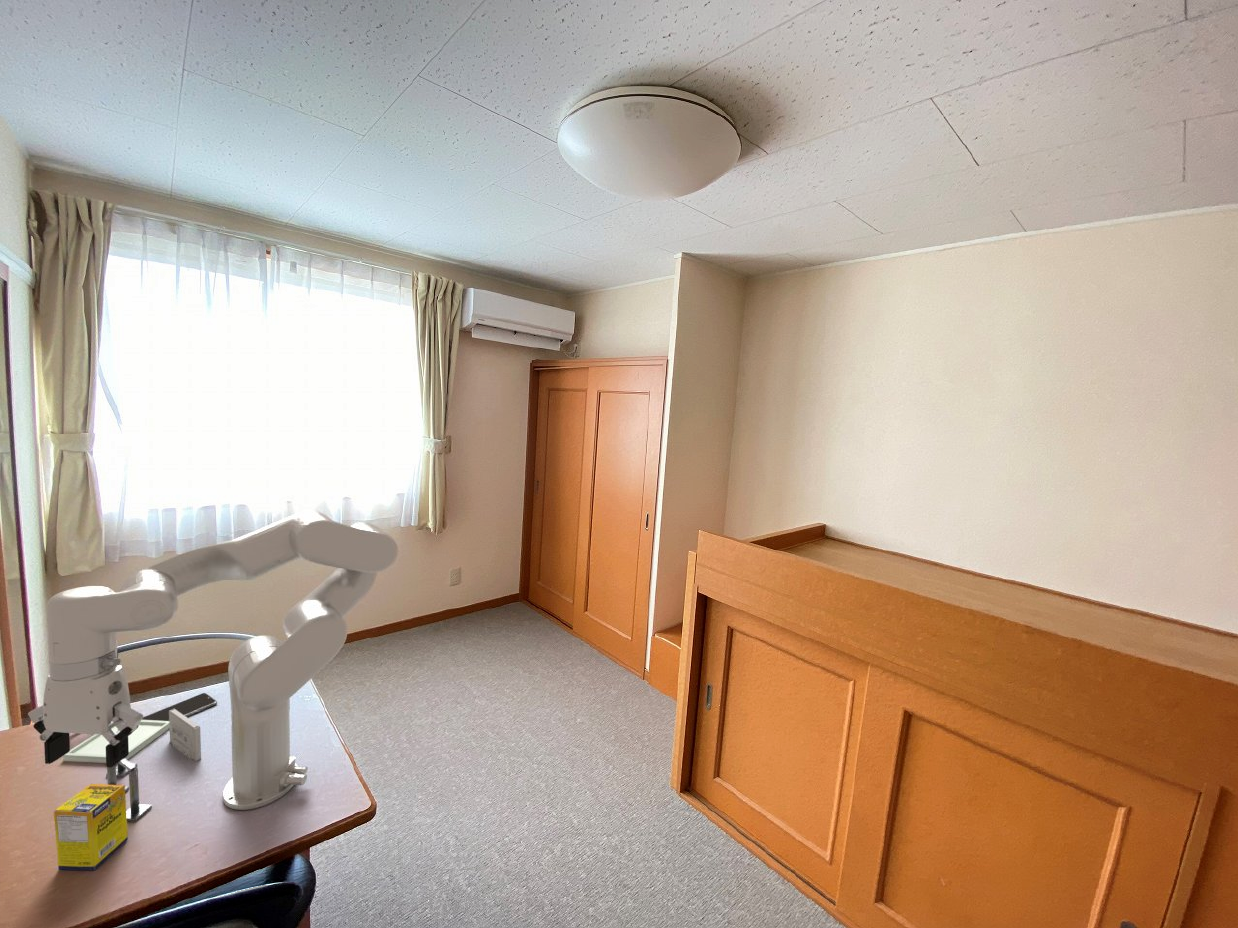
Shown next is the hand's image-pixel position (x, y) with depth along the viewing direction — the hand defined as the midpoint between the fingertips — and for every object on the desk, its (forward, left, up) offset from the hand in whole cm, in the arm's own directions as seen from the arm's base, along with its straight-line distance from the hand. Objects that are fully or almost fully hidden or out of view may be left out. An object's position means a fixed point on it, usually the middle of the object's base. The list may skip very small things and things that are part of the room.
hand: (87, 759), depth 82 cm
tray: (+21, -26, -18) cm, 38 cm away
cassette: (+6, -25, -18) cm, 32 cm away
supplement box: (0, 0, -18) cm, 18 cm away
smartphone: (+18, -36, -18) cm, 44 cm away
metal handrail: (+7, -13, -18) cm, 23 cm away
